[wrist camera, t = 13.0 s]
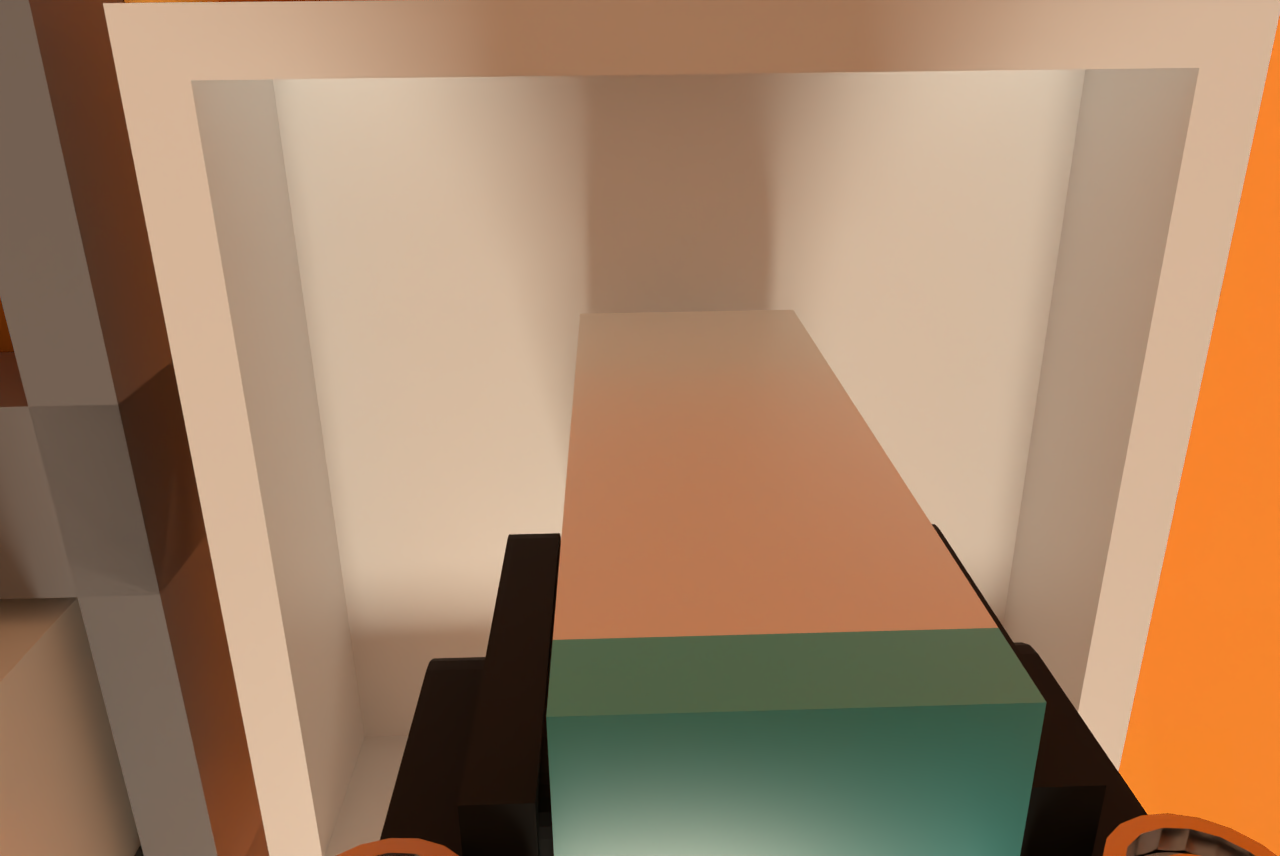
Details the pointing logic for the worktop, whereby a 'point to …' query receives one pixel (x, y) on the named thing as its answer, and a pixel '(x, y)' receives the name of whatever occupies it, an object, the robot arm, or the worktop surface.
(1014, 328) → the tray
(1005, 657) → the block
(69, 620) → the block
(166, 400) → the frame
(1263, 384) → the worktop surface
